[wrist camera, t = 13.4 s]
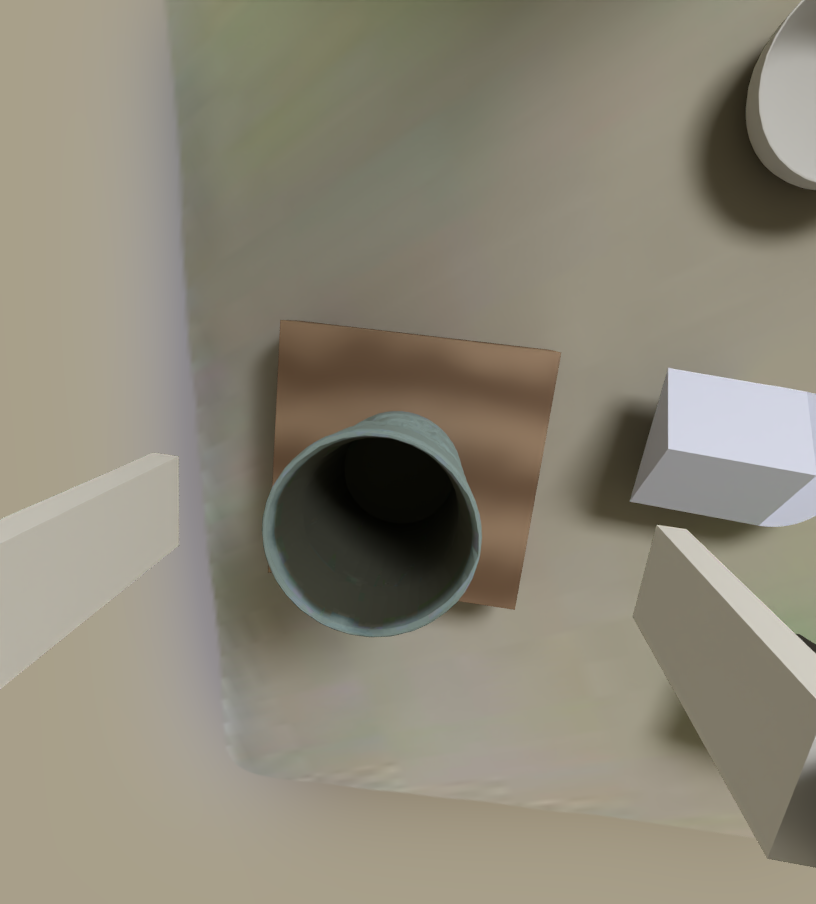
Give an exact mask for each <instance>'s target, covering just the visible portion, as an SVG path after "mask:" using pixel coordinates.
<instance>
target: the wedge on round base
mask: <svg viewBox="0 0 816 904" xmlns="http://www.w3.org/2000/svg"><path fill="white" fill-rule="evenodd" d="M630 502H635V503H640V504H646V505H651V506H656V507H662V508H667V509H672V510H678V511H683V512H689V513H694V514H699V515H705V516H710V517H715V518H721V519H726V520H731V521H737V522H742V523H748V524H753V525H758V526H766V527H780V526H788V525H793V524H797V523H800V522H803V521H806V520H808V519H810V518H812V517H814V516H816V394H814V393H810V392H805V391H800V390H795V389H790V388H784V387H779V386H772V385H764V384H759V383H753V382H747V381H741V380H735V379H729V378H724V377H718V376H712V375H706V374H700V373H694V372H689V371H683V370H677V369H671V368H668V370H667V373H666V377H665V380H664V384H663V387H662V391H661V394H660V398H659V401H658V405H657V408H656V412H655V415H654V419H653V422H652V425H651V429H650V432H649V436H648V439H647V443H646V446H645V450H644V453H643V457H642V460H641V464H640V467H639V470H638V474H637V477H636V481H635V484H634V488H633V491H632V495H631V498H630Z"/></svg>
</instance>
